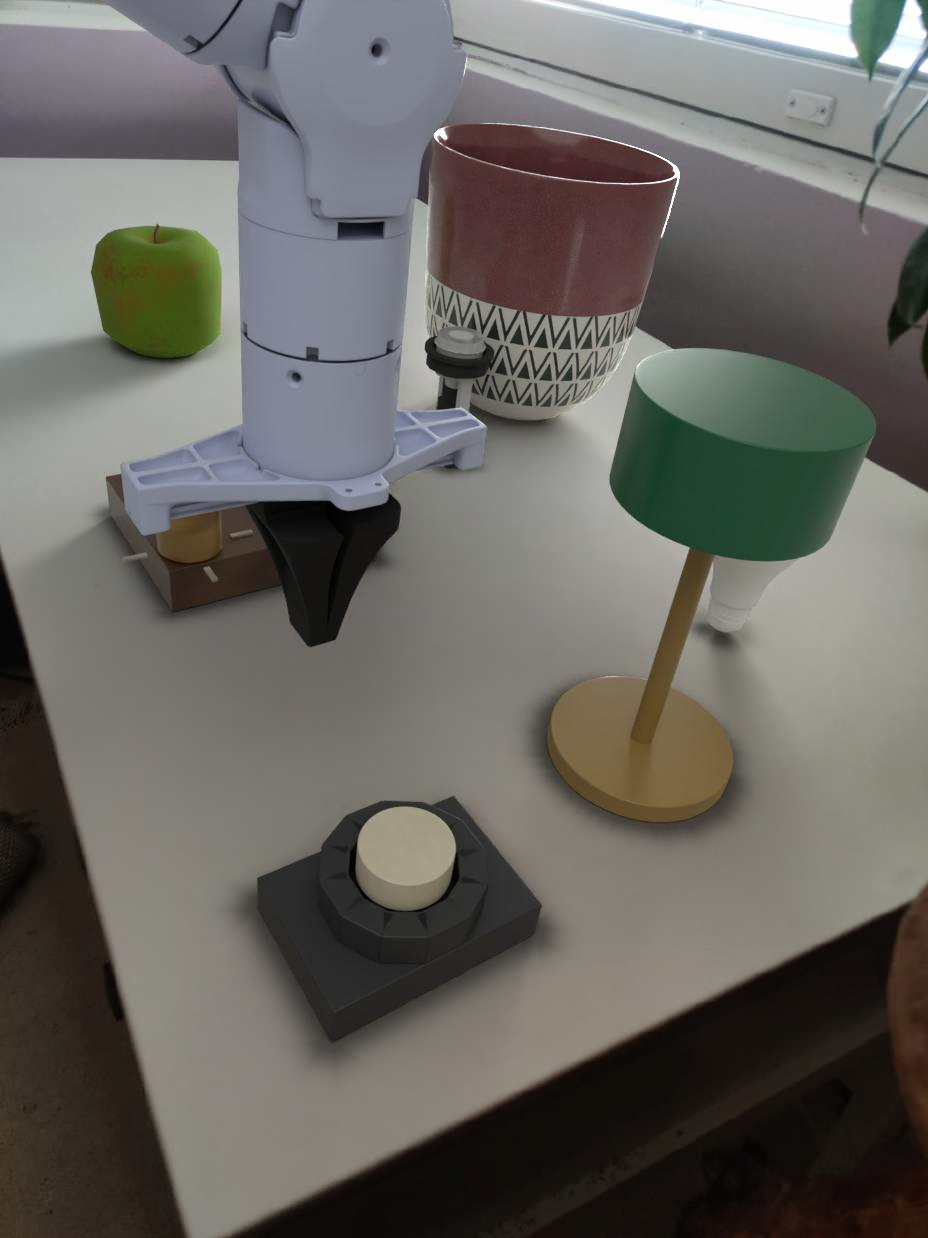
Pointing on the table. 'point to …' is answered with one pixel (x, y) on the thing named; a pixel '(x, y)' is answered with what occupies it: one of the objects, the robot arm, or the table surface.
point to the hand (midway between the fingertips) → (313, 631)
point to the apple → (158, 289)
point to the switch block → (390, 922)
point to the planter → (542, 256)
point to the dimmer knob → (192, 538)
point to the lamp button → (405, 858)
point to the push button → (457, 364)
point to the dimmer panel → (207, 581)
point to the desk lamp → (705, 552)
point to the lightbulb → (738, 589)
